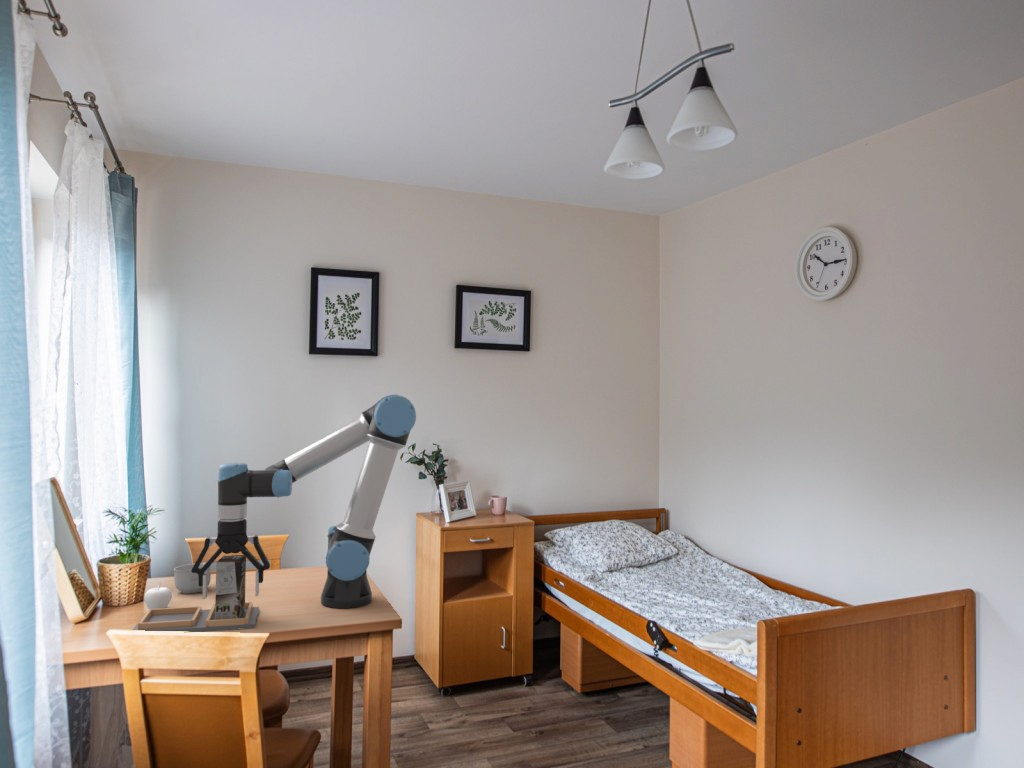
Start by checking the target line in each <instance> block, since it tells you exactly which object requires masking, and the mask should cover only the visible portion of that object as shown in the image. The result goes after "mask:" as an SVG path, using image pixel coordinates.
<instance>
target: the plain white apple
mask: <svg viewBox="0 0 1024 768" xmlns="http://www.w3.org/2000/svg"><path fill="white" fill-rule="evenodd" d="M161 584H162V581H160V582H159V583H158V585H157V587H153V588H150V589H148V590H147V591H146V593H145V595H144V603H145V604H146V607H147V608H148V610H150V609H160V608H168V607H169V604H170V603H171V600H172V597H173V596H172V591H171V589H170V588H169V587H163V586H162V587H161Z"/></svg>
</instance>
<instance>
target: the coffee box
mask: <svg viewBox="0 0 1024 768" xmlns="http://www.w3.org/2000/svg"><path fill="white" fill-rule="evenodd" d="M246 564H247V558H246V556H245V555H243V554H232V555H222V557H221V558H219V559H218V560H217V561H216V565H215V566H216V567H215V570H216V572H215V598H214V599H215V600H214V604H215V620H221V619H237V618H240V617H241V616H242V614H243V613H244V612H245V602H246V581H247V579H246V577H247V576H246V575H247V574H246V572H247V571H246V570H247V567H246V566H247V565H246Z"/></svg>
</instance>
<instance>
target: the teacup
mask: <svg viewBox="0 0 1024 768" xmlns="http://www.w3.org/2000/svg"><path fill="white" fill-rule="evenodd" d="M206 562H207V561H204V562H203V561H202V562H201V563H200V565H199V567H198V568H202V567H203V566H204V565H205V564H206ZM195 563H196V562H195ZM195 563H188V564H181V565H179V566H176V567H174V568H173V575H174V576H173V577H174V585H175V586H174V587H175V588H176V590H178V591H179V592H181V593H182V592H183V593H182V594H195V593H199V592H203V586H199V575H198V574H197V573H192V572H191V570H192V568H193V566H194V564H195ZM211 565H212V564H211ZM211 565H210V566H209V567H208V569H207V570H206V571H205V572H204V573H207V587H209V585H210V583H211V579H212V578H211V574H212V573H211Z"/></svg>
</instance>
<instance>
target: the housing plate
mask: <svg viewBox="0 0 1024 768" xmlns="http://www.w3.org/2000/svg"><path fill="white" fill-rule="evenodd" d="M253 604H254V602H253V601H251V602H250V601H245V612H244V613H243V614H242V616H241V617H240V618H237V619H221V620H215V603H214V604H213V605H212V606H211V609H202V608H203V607H202V606H198V605H197V606H180V607H178V606H177V607H167V608H160V609H150V610H149V609H148V610H147V611H146V612H145V614H144V615H142V617H141V618H140V620H139V621H138V622H137V624H136V625H134V627H133V628H132V630H145V631H199V632H211V631H212V632H213V631H226V630H227V631H228V630H239V629H238V628H245V629H254V628H255V627H256V623H257V619H258V615H259V610H260V607H259V606H254V605H253Z"/></svg>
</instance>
